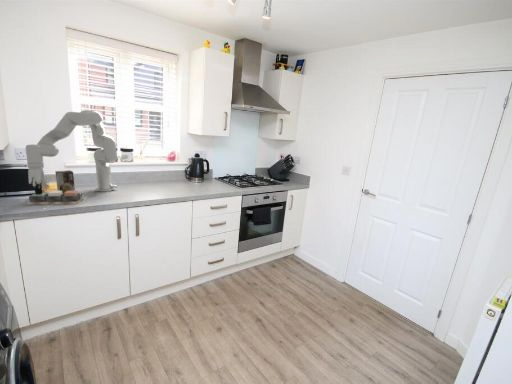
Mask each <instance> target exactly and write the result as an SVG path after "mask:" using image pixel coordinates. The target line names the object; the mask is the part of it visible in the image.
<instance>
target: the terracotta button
mask: <svg viewBox="0 0 512 384" xmlns="http://www.w3.org/2000/svg"><path fill="white" fill-rule="evenodd" d="M78 193H79V191H78V190H75V191H66V192H65V193H64V195H65V196H76V195H77V194H78Z"/></svg>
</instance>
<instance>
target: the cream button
mask: <svg viewBox="0 0 512 384" xmlns="http://www.w3.org/2000/svg"><path fill="white" fill-rule="evenodd" d="M62 194H63V192H62V191H58V190H50V191H49V192H48V196H61V195H62Z"/></svg>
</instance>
